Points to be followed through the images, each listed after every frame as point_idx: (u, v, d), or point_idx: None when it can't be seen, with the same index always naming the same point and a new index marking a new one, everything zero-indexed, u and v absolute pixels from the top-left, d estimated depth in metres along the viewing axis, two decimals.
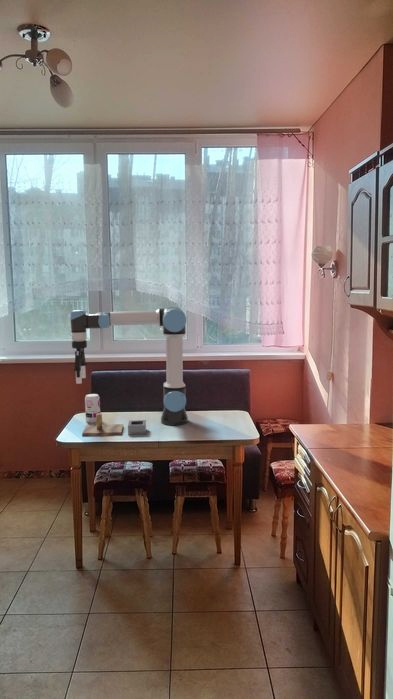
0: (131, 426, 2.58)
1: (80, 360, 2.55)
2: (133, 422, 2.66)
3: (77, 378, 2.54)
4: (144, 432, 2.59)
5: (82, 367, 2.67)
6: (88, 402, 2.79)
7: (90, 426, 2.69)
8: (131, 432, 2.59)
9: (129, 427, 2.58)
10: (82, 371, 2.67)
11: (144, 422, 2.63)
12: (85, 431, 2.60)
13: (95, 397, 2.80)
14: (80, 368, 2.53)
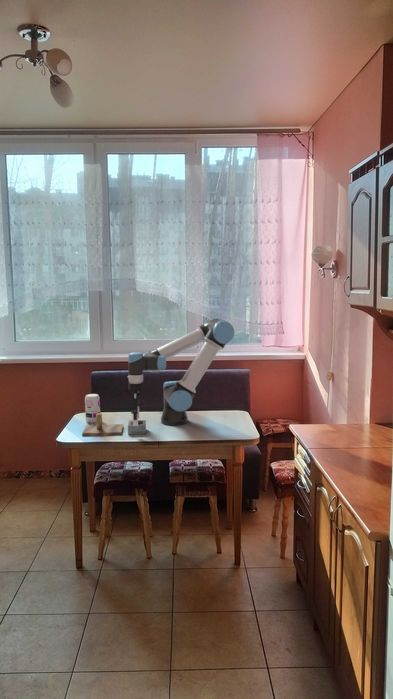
0: (131, 426, 2.58)
1: None
2: None
3: (134, 420, 2.55)
4: (144, 432, 2.59)
5: None
6: (88, 402, 2.79)
7: (90, 426, 2.69)
8: (131, 432, 2.59)
9: (129, 427, 2.58)
10: None
11: (144, 422, 2.63)
12: (85, 431, 2.60)
13: (95, 397, 2.80)
14: None
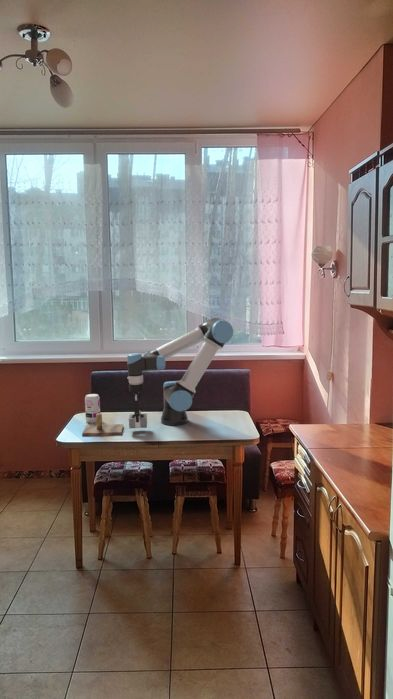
0: (132, 419, 2.58)
1: None
2: (134, 416, 2.65)
3: (136, 423, 2.58)
4: (145, 425, 2.59)
5: None
6: (88, 402, 2.79)
7: (90, 426, 2.69)
8: (132, 426, 2.58)
9: (130, 421, 2.58)
10: None
11: (145, 415, 2.63)
12: (85, 431, 2.60)
13: (95, 397, 2.80)
14: (139, 413, 2.57)
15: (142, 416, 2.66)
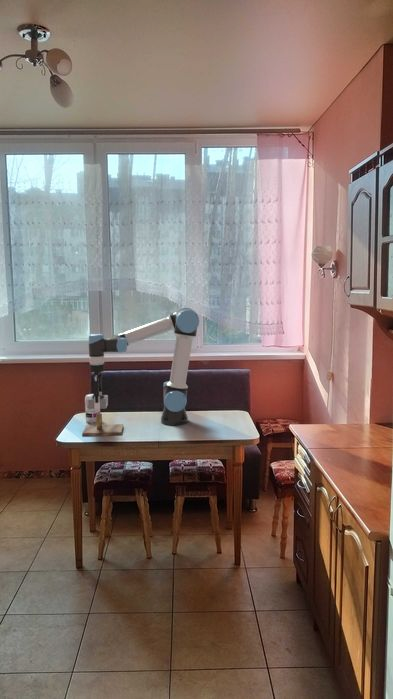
0: (91, 400, 2.58)
1: None
2: None
3: (95, 403, 2.57)
4: (105, 406, 2.59)
5: (99, 393, 2.67)
6: None
7: (90, 426, 2.69)
8: (91, 406, 2.58)
9: (89, 401, 2.58)
10: None
11: (105, 396, 2.63)
12: (85, 431, 2.60)
13: None
14: None
15: (103, 397, 2.66)
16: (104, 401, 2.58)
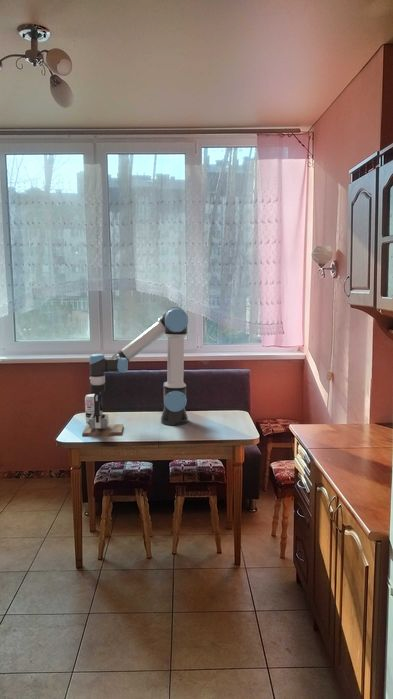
0: (92, 420, 2.59)
1: (99, 405, 2.59)
2: None
3: (96, 423, 2.59)
4: (105, 426, 2.60)
5: (99, 412, 2.68)
6: (88, 402, 2.79)
7: None
8: (92, 426, 2.60)
9: (90, 421, 2.59)
10: None
11: (106, 416, 2.64)
12: (85, 431, 2.60)
13: None
14: (99, 413, 2.58)
15: (103, 416, 2.67)
16: (105, 421, 2.60)
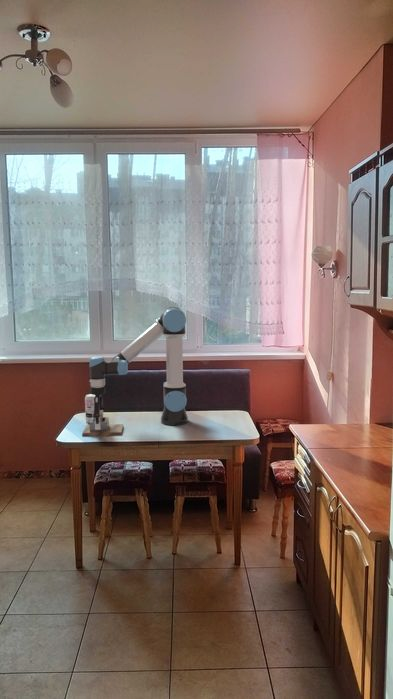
0: (93, 423, 2.60)
1: (99, 406, 2.58)
2: None
3: (96, 424, 2.57)
4: (106, 429, 2.61)
5: (100, 411, 2.70)
6: (88, 402, 2.79)
7: None
8: (92, 429, 2.60)
9: (91, 424, 2.60)
10: None
11: (106, 419, 2.65)
12: (85, 431, 2.60)
13: None
14: (99, 415, 2.56)
15: (104, 419, 2.67)
16: (105, 424, 2.60)
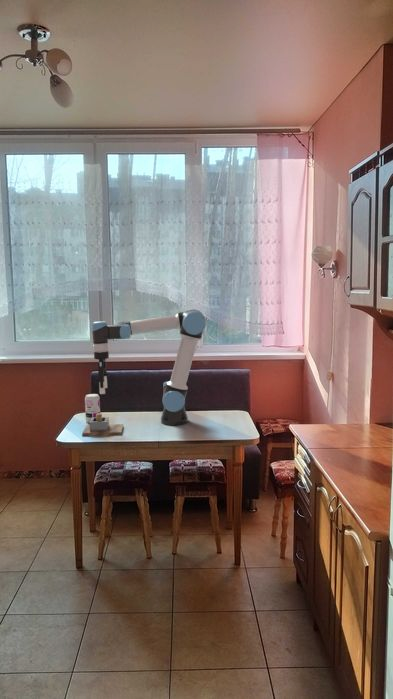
0: (93, 423, 2.60)
1: (103, 371, 2.58)
2: None
3: (101, 389, 2.57)
4: (106, 429, 2.61)
5: (104, 377, 2.70)
6: (88, 402, 2.79)
7: None
8: (92, 429, 2.60)
9: (91, 424, 2.60)
10: (104, 381, 2.70)
11: (106, 419, 2.65)
12: (85, 431, 2.60)
13: (95, 397, 2.80)
14: (103, 379, 2.56)
15: (104, 419, 2.67)
16: (105, 424, 2.60)
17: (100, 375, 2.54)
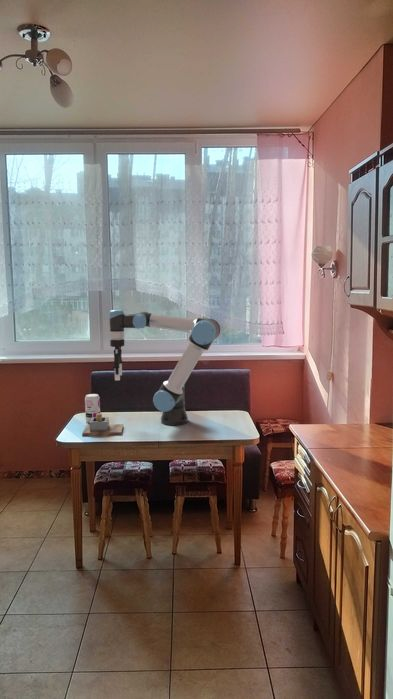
0: (93, 423, 2.60)
1: (118, 358, 2.65)
2: None
3: (116, 375, 2.64)
4: (106, 429, 2.61)
5: (119, 365, 2.77)
6: (88, 402, 2.79)
7: None
8: (92, 429, 2.60)
9: (91, 424, 2.60)
10: None
11: (106, 419, 2.65)
12: (85, 431, 2.60)
13: (95, 397, 2.80)
14: (119, 366, 2.63)
15: (104, 419, 2.67)
16: (105, 424, 2.60)
17: (116, 362, 2.61)
